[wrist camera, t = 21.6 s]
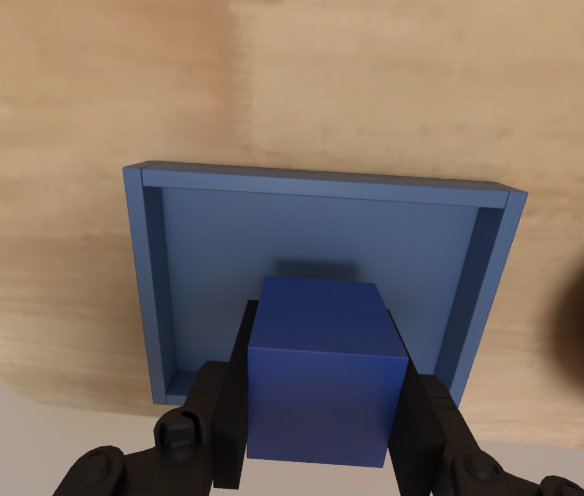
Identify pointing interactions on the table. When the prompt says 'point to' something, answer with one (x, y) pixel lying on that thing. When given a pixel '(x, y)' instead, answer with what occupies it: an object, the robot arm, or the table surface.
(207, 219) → the blue tray
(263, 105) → the table surface
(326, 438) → the blue block
